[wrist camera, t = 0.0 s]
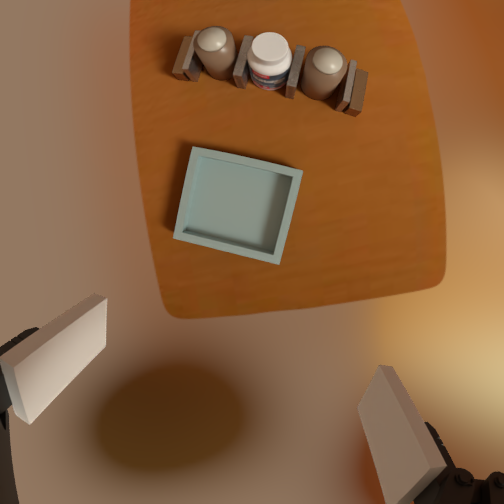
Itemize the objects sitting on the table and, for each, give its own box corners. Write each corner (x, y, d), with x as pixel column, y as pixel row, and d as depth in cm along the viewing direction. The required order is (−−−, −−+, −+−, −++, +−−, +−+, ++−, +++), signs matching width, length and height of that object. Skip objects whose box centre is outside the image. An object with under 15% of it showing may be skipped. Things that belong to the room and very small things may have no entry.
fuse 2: (304, 66, 35) (311, 38, 26) (336, 75, 34) (351, 49, 26) (297, 95, 36) (303, 71, 27) (330, 104, 35) (345, 83, 27)
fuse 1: (212, 50, 35) (197, 21, 26) (243, 54, 35) (236, 24, 26) (203, 78, 36) (186, 53, 27) (235, 82, 36) (225, 57, 27)
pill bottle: (249, 90, 36) (243, 65, 27) (251, 57, 35) (245, 27, 26) (289, 92, 36) (293, 67, 27) (290, 59, 34) (293, 28, 26)
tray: (197, 148, 38) (192, 146, 36) (301, 171, 38) (303, 170, 35) (178, 235, 41) (173, 238, 38) (278, 260, 40) (279, 264, 38)
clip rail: (189, 44, 35) (180, 29, 30) (362, 79, 34) (372, 66, 29) (178, 80, 36) (166, 67, 31) (355, 116, 36) (365, 107, 31)
